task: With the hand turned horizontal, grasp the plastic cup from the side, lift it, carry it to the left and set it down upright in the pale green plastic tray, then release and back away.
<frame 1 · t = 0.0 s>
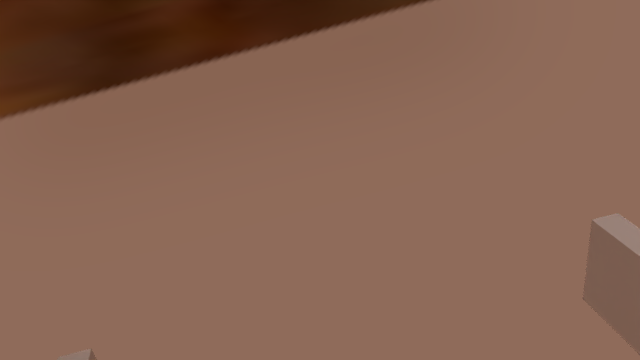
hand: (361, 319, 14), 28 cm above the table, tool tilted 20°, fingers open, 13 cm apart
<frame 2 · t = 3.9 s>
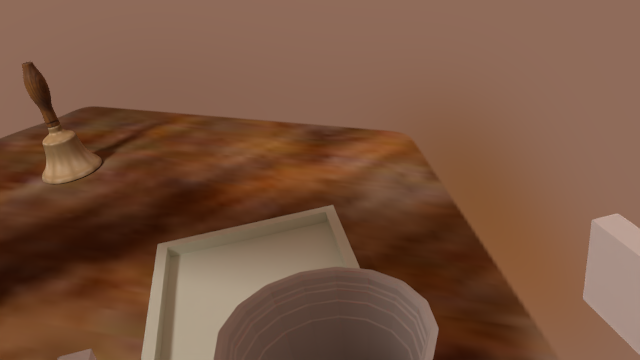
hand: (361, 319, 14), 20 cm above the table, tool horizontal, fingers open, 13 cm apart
hand bell: (73, 171, 76), on the table
tray: (257, 294, 46), on the table
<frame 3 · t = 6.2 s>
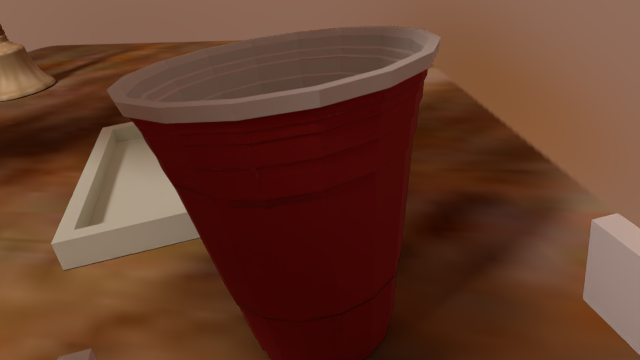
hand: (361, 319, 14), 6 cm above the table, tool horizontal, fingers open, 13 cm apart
plastic cup: (325, 321, 23), on the table
hand bell: (23, 91, 68), on the table
tray: (217, 167, 38), on the table
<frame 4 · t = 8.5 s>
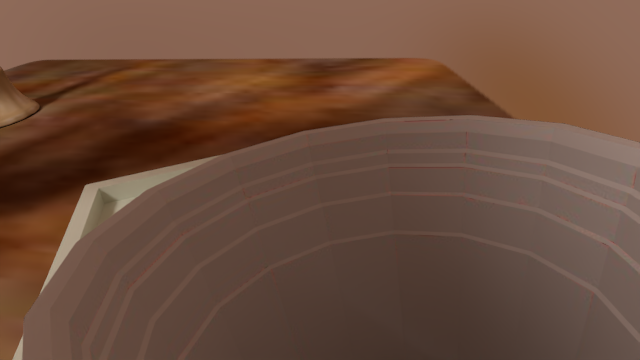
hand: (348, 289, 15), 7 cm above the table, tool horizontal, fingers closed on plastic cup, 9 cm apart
hand bell: (1, 119, 59), on the table
tray: (232, 248, 29), on the table
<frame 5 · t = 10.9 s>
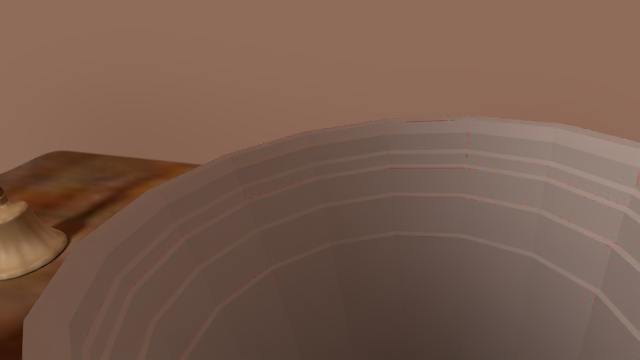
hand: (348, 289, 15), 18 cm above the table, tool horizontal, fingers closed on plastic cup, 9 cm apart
hand bell: (26, 256, 54), on the table
when the fingers open (8 cm above the table, at t = 13.6 s): plastic cup drops 1 cm, resting on tray.
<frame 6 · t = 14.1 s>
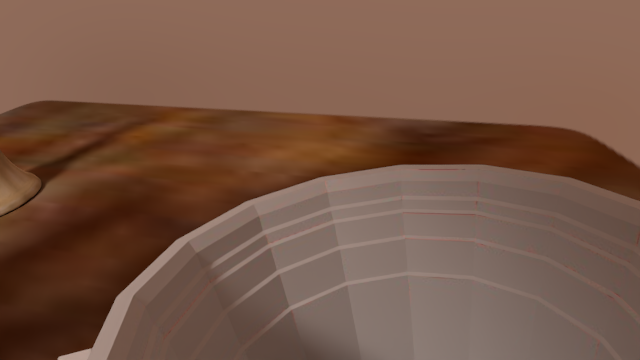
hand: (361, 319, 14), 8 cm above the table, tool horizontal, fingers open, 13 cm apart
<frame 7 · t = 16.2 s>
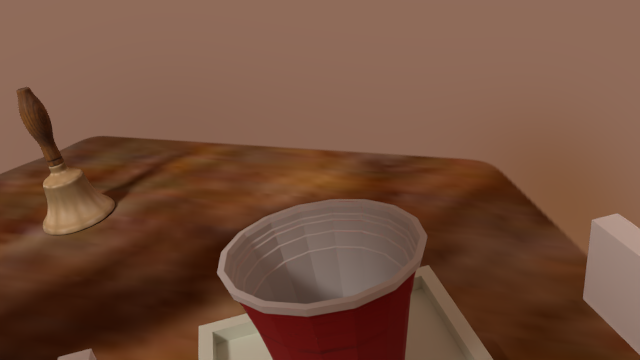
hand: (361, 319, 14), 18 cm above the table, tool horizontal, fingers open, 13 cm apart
hand bell: (80, 217, 63), on the table
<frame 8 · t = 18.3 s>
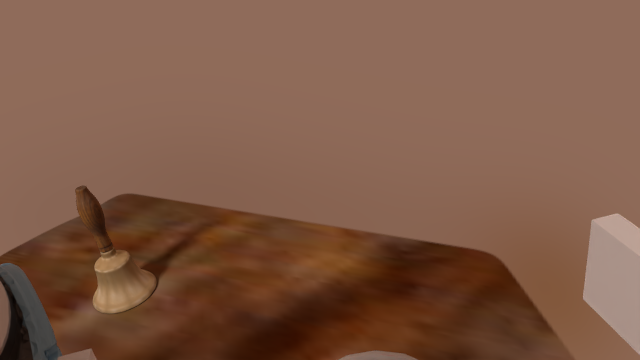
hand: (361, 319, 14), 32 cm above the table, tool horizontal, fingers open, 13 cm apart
hand bell: (126, 293, 70), on the table
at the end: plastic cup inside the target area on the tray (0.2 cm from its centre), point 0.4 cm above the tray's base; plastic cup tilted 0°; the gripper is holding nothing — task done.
